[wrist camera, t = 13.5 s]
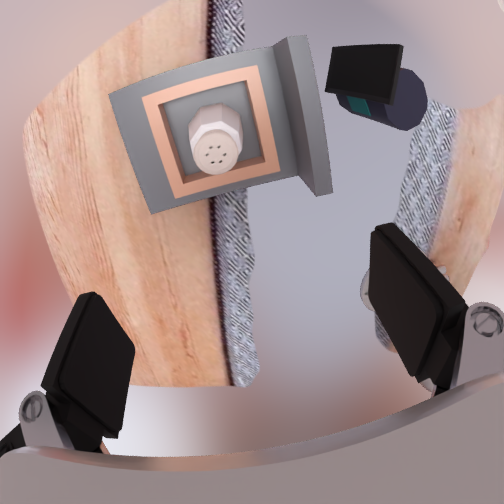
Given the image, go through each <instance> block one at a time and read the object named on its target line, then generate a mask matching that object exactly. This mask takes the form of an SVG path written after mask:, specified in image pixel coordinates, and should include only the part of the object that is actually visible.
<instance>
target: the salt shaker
mask: <svg viewBox="0 0 504 504" xmlns="http://www.w3.org/2000/svg"><path fill="white" fill-rule="evenodd" d="M188 127H189V140H190V145H191V150H192V154H193V158H194V161H195V163H196V165H197V166H198V167H199V168H200V169H201V170H202V171H204V172H205V173H208V174H211V175H219V174H223V173H226V172H228V171H229V170H230V169H232V168H233V166H234V165H235V164H236V162H237V159H238V155H239V154H240V152H241V151H242V144H243V130H242V124H241V119H240V114H239V113H237V112H236V111H234V110H233V109H231V108H229V107H228V106H226V105H225V104H223V103H218V104H213V105H208V106H203V107H200V108H199V110H198V111H197V113H196V114H195V116H194V117H193V118H192V120H191V121H190V123H189V124H188Z"/></svg>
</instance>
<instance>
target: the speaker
mask: <svg viewBox="0 0 504 504" xmlns="http://www.w3.org/2000/svg"><path fill="white" fill-rule="evenodd" d="M402 53H403V46H402V45H400V44H374V45H373V44H372V45H353V46H352V45H351V46H338V47H332V53H331V60H330V65H329V71H328V76H327V82H326V88H325V92H328V93H334V94H336V96H337V99H338V101H339V104H340V105H341V106H342V107H344V108H345V109H347V110H348V111H349V112H351V113H353V114H356V115H359V116H362V117H366V118H369V119H371V120H374V121H377V122H380V123H383V124H386V125H389V126H391V127H394V128H397V129H399V130H405V131H408V130H409V129H412V128H413V127H415V126H417V125H419V124H420V122H421V120H422V118H423V116H424V114H425V112H426V110H427V102H428V99H427V95H426V91H425V87H424V83H423V82H422V80H421V79H419V77H418V76H417V75H416V74H415V73H414V72H413V71H412V70H408V69H404V68H400V66H401V60H402Z"/></svg>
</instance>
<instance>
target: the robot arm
mask: <svg viewBox="0 0 504 504" xmlns="http://www.w3.org/2000/svg"><path fill="white" fill-rule="evenodd" d="M444 273H445V274H444ZM360 295H361V299H362V301H363V303H364V304H365V306H366V307H367V308H368V309H369V310H372V311H374V312H376V314H377V315H378V317H379V319H380V321H381V322H382V324H383V326H384V328H385V330H386V331H387V333H388V335H389V337H390V339H391V341H392V342H393V344H394V346H395V348H396V350H397V352H398V354H399V356H400V358H401V359H402V361H403V363H404V365H405V367H406V369H407V371H408V373H409V375H410V376H412V377H413V376H415V378H416V379H417V382H418V383H420V384H421V385H422V386H423V387H424V388H425V389H426V390H428V391H430V392H432V394H431V398H430V399H428V400H426V401H424V402H421V403H419V404H417V405H414V406H412V407H410V408H407V409H405V410H402V411H400V412H397V413H395V414H392V415H389V416H386V417H384V418H381V419H378V420H375V421H373V422H370V423H367V424H364V425H361V426H358V427H355V428H352V429H349V430H345V431H341V432H338V433H334V434H331V435H327V436H323V437H320V438H316V439H312V440H307V441H303V442H298V443H294V444H289V445H284V446H279V447H273V448H267V449H261V450H254V451H248V452H240V453H231V454H221V455H208V456H189V457H140V456H122V455H111V454H110V453H109V452H108V450H107V448H106V446H105V445H104V443H103V441H102V437H103V436H104V437H105V438H114V439H115V438H116V439H118V434H119V431H120V430H121V429H122V425H123V418H124V411H125V405H126V398H127V393H128V387H129V382H130V376H131V371H132V366H133V361H134V356H135V347H134V344H133V342H132V341H131V340H130V338H129V337H128V335H127V334H126V333H125V331H124V330H123V328H122V327H121V325H120V324H119V322H118V321H117V320H116V318H115V317H114V315H113V314H112V312H111V310H110V309H109V307H108V306H107V304H106V303H105V301H104V300H103V298H102V297H101V296H100V295H98V294H97V293H95V292H89V293H84V294H81V295H79V297H78V298H77V300H76V302H75V305H74V307H73V309H72V311H71V313H70V315H69V317H68V319H67V322H66V324H65V326H64V328H63V330H62V333H61V335H60V337H59V340H58V342H57V345H56V347H55V349H54V352H53V354H52V357H51V359H50V362H49V364H48V367H47V370H46V372H45V375H44V378H43V381H42V383H41V387H42V388H43V389H45V390H46V391H47V392H46V395H44V394H43V393H42V392H40V391H33V392H31V393H29V394H28V395H27V396H26V397H25V398H24V400H23V401H22V403H21V405H20V408H19V420H20V423H19V424H18V425H17V426H16V427H15V428H14V429H13V430H12V431H11V432H10V433H9V434H7V435H6V436H5V437H4V438H3V439H2V440H1V441H0V504H504V313H503V312H502V311H501V310H500V309H499V308H498V307H496V306H495V305H493V304H490V303H486V302H479V303H475V304H473V305H472V306H470V307H468V306H467V304H466V303H465V300H464V299H463V298H462V297H461V295H460V294H459V293H458V292H457V291H456V289H455V288H454V287H453V286H452V285H451V283H450V282H449V277H448V275H447V274H446V267H445V266H444V265H442V266H439V267H437V268H436V267H435V265H434V264H433V263H432V262H431V261H430V260H429V259H428V257H427V255H426V254H425V253H424V252H423V251H422V250H421V249H420V248H419V247H417V246H416V245H415V244H414V243H413V242H412V241H411V240H410V239H409V238H408V237H407V236H406V235H405V234H404V233H403V232H402V231H401V230H400V229H399V228H398V227H397V226H396V225H395V224H394V223H387V224H382V225H378V226H376V227H375V231H373V232H371V240H370V268H369V269H368V271H367V272H366V274H365V276H364V278H363V280H362V284H361V288H360Z"/></svg>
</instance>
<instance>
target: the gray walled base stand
mask: <svg viewBox="0 0 504 504" xmlns="http://www.w3.org/2000/svg"><path fill="white" fill-rule="evenodd" d="M108 95H109V98H110V102H111V105H112V108H113V111H114V114H115V118H116V121H117V124H118V127H119V130H120V133H121V136H122V139H123V141H124V144H125V147H126V150H127V153H128V156H129V158H130V161H131V164H132V167H133V169H134V172H135V175H136V177H137V180H138V182H139V185H140V188H141V190H142V193H143V195H144V198H145V200H146V203H147V205H148V208H149V210H150V213H151V214H154V213H158V212H161V211H164V210H167V209H171V208H174V207H177V206H181V205H184V204H188V203H191V202H195V201H198V200H202V199H205V198H209V197H213V196H216V195H220V194H224V193H228V192H231V191H235V190H239V189H243V188H247V187H251V186H255V185H259V184H263V183H268V182H272V181H276V180H280V179H285V178H289V177H294V176H298V175H299V176H300V178H301V179H302V180H303V181H304V182H305V184H306V185H307V186H308V187H309V188H310V190H311V191H312V192H313V193H314V195H315V196H316V197H317V196H321V195H326V194H330V193H333V188H332V179H331V170H330V162H329V155H328V147H327V140H326V133H325V126H324V120H323V114H322V108H321V103H320V97H319V91H318V85H317V81H316V75H315V70H314V65H313V61H312V56H311V52H310V47H309V43H308V39H307V35H301V36H291V37H286V38H284V39H283V40H281V41H280V42H278V43H276V44H275V45H273V46H271V47H264V48H258V49H253V50H247V51H242V52H237V53H232V54H228V55H223V56H219V57H215V58H211V59H207V60H203V61H200V62H196V63H193V64H189V65H186V66H182V67H179V68H176V69H173V70H170V71H167V72H164V73H161V74H158V75H155V76H152V77H150V78H147V79H144V80H142V81H139V82H137V83H134V84H131V85H129V86H127V87H124V88H122V89H119V90H117V91H115V92H113V93H110V94H108ZM218 103H223V104H225V105H226V106H228V107H229V108H231V109H233V110H234V111H236V112H237V113H239V114H240V119H241V124H242V130H243V144H242V151H241V152H240V154H239V155H238V159H237V162H236V164H235V165H234V166H233V168H232V169H230V170H229V171H228V172H226V173H223V174H219V175H211V174H208V173H205V172H204V171H202V170H201V169H200V168H199V167H198V166H197V165H196V163H195V161H194V158H193V154H192V150H191V145H190V140H189V127H188V124H189V123H190V121H191V120H192V118H193V117H194V116H195V114H196V113H197V111H198V110H199V108H200V107H203V106H208V105H213V104H218Z"/></svg>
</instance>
